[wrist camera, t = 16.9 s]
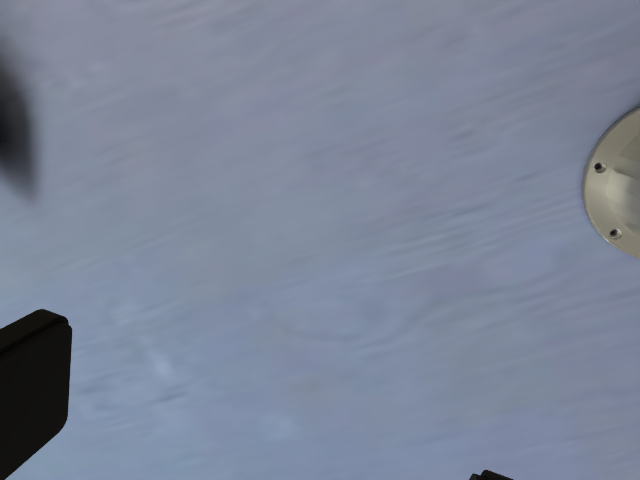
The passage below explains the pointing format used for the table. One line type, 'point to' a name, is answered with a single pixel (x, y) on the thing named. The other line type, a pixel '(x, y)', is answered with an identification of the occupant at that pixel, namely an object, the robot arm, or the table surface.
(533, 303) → the table surface
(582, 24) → the table surface
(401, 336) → the table surface
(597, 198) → the robot arm
